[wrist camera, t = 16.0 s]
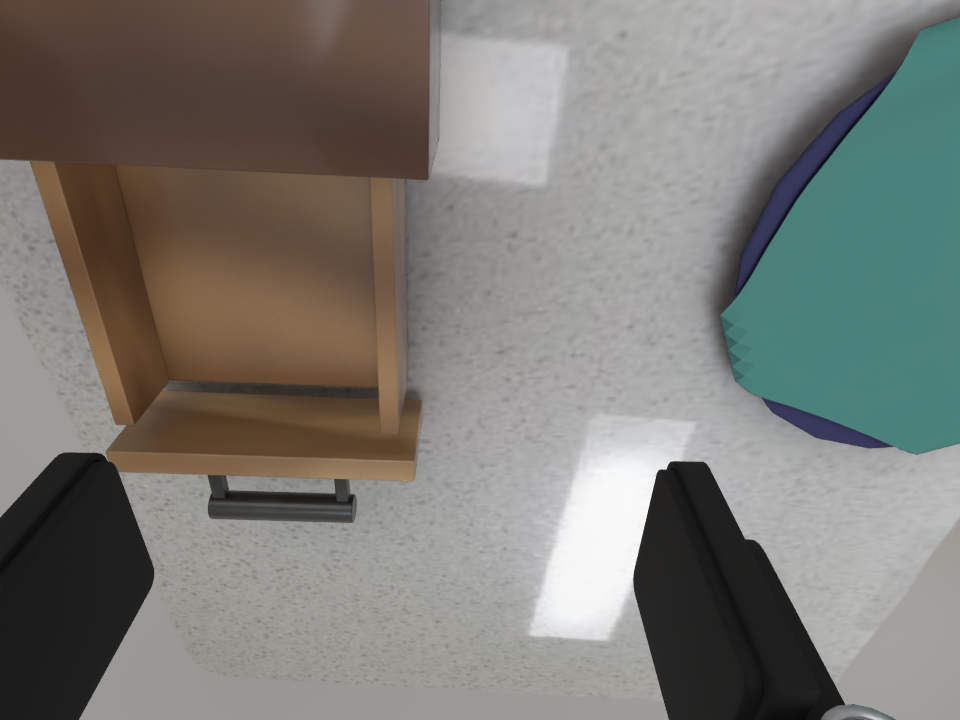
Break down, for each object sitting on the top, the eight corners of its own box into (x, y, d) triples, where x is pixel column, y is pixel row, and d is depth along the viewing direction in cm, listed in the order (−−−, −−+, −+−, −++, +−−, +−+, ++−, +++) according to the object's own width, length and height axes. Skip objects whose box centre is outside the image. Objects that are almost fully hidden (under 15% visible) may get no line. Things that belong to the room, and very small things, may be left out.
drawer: (422, 479, 33) (415, 547, 29) (177, 471, 33) (134, 539, 29) (423, 66, 23) (411, 81, 19) (60, 46, 22) (-34, 57, 18)
